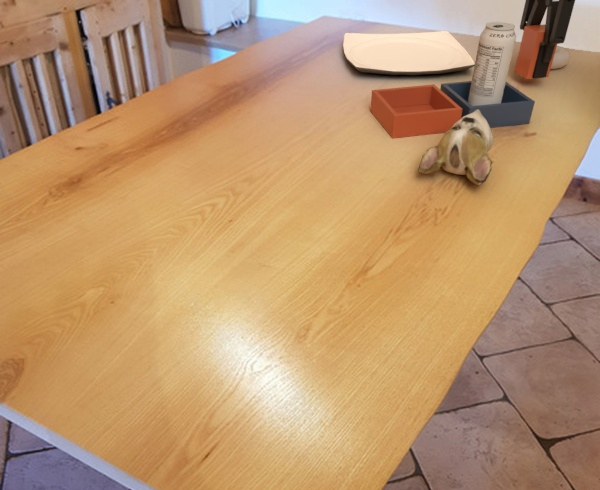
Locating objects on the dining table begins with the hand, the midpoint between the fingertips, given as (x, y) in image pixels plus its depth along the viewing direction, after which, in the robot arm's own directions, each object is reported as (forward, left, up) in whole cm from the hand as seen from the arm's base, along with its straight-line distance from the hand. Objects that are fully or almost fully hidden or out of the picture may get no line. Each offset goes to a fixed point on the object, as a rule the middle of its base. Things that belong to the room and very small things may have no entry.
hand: (531, 72), depth 115 cm
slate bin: (-13, +17, -2) cm, 21 cm away
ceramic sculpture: (-33, +31, -2) cm, 45 cm away
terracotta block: (0, 0, 0) cm, 0 cm away
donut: (+10, -10, -2) cm, 15 cm away
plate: (+21, +20, -2) cm, 29 cm away
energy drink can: (-13, +17, -2) cm, 21 cm away
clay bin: (-13, +31, -2) cm, 34 cm away
